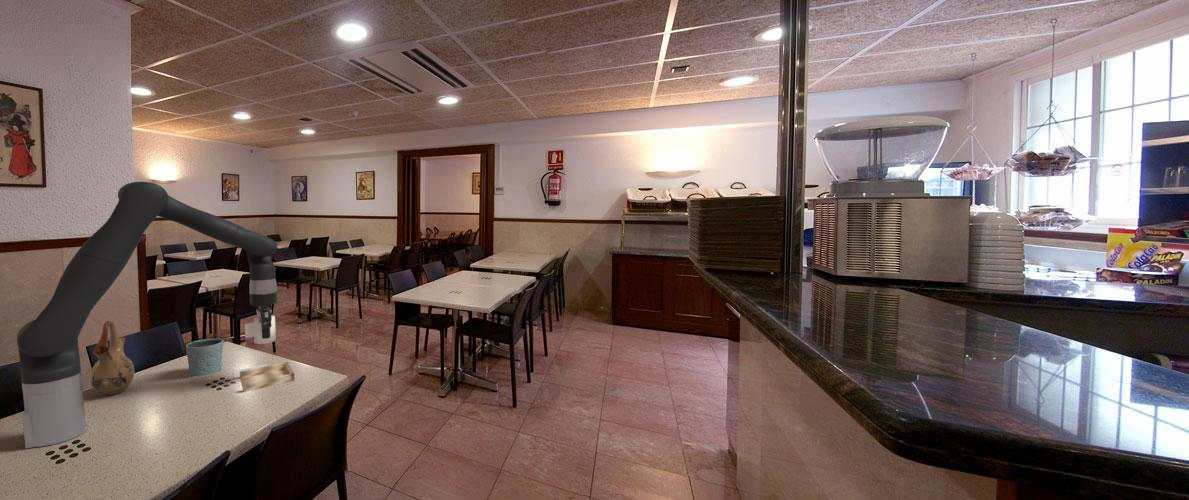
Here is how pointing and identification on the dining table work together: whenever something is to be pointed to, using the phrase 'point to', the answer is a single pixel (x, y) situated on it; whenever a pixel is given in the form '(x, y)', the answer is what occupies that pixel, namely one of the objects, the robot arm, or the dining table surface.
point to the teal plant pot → (204, 356)
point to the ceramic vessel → (111, 364)
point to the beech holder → (266, 376)
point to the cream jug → (260, 331)
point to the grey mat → (237, 372)
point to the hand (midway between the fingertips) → (265, 335)
